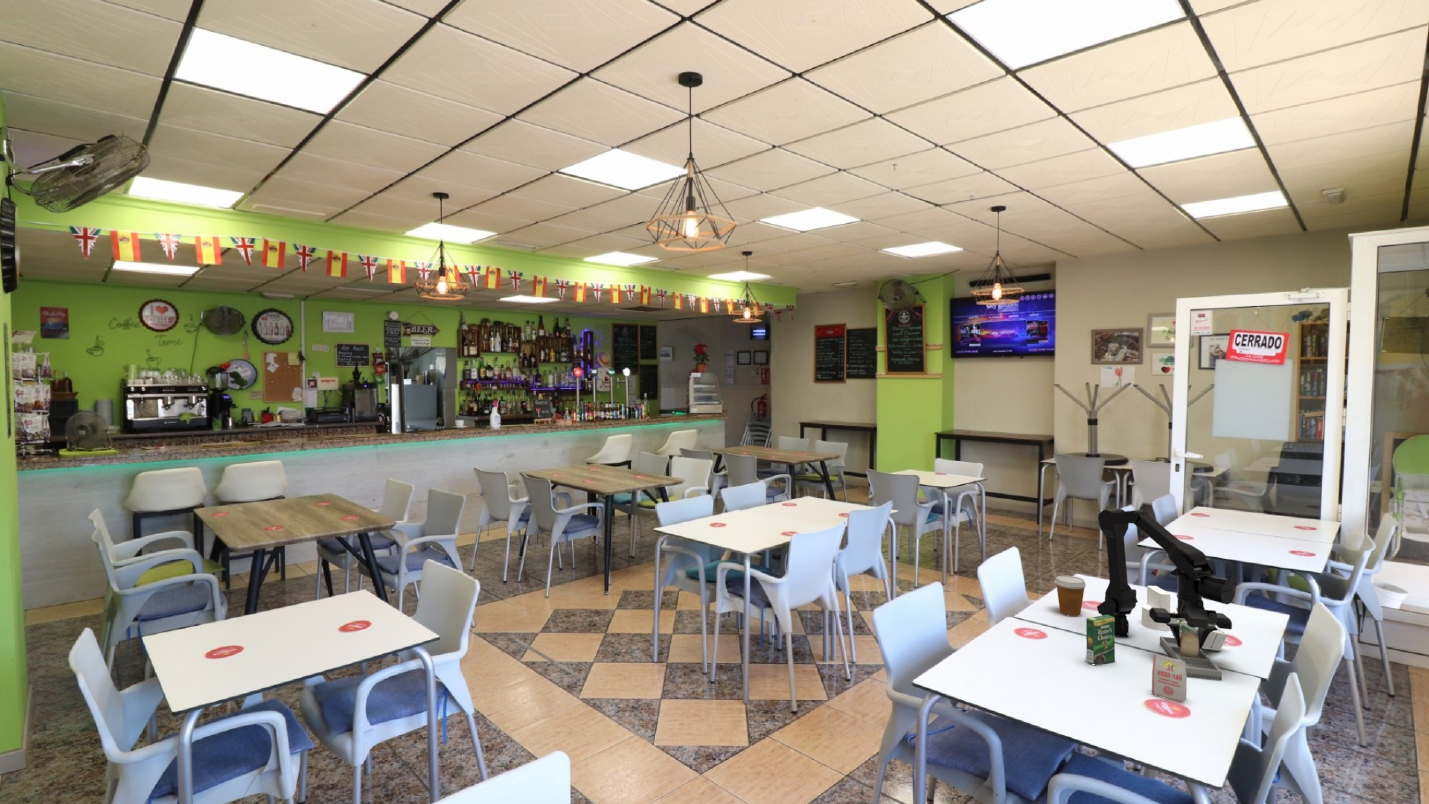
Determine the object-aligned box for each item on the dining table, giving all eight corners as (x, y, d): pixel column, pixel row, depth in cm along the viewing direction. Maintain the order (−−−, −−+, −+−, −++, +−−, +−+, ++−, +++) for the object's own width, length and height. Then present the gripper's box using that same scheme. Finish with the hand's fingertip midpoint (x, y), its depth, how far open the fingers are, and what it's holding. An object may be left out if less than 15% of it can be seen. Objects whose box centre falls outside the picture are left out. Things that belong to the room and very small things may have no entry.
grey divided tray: (1186, 676, 184) (1186, 667, 184) (1159, 644, 206) (1159, 636, 206) (1221, 680, 181) (1221, 671, 181) (1191, 647, 203) (1191, 639, 203)
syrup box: (1228, 634, 200) (1198, 628, 194) (1220, 652, 200) (1189, 646, 195) (1209, 623, 205) (1179, 617, 199) (1201, 641, 206) (1171, 635, 200)
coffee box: (1093, 666, 191) (1093, 620, 190) (1085, 662, 194) (1085, 617, 193) (1115, 662, 193) (1116, 617, 193) (1107, 658, 196) (1107, 614, 196)
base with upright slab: (1136, 620, 226) (1137, 585, 226) (1165, 621, 225) (1166, 586, 224) (1150, 630, 217) (1150, 593, 217) (1180, 632, 216) (1181, 594, 215)
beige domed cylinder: (1182, 657, 192) (1182, 634, 191) (1177, 650, 196) (1178, 628, 196) (1200, 659, 190) (1201, 636, 190) (1195, 652, 194) (1196, 630, 194)
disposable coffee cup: (1060, 617, 230) (1060, 582, 229) (1050, 608, 239) (1051, 574, 239) (1090, 618, 228) (1090, 583, 228) (1079, 609, 237) (1080, 575, 237)
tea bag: (1155, 689, 176) (1155, 652, 176) (1186, 698, 172) (1186, 659, 171) (1151, 694, 174) (1152, 656, 173) (1183, 703, 169) (1183, 663, 169)
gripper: (1160, 599, 188) (1160, 654, 188) (1240, 605, 182) (1239, 662, 183) (1148, 587, 199) (1148, 640, 199) (1224, 593, 193) (1223, 647, 193)
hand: (1189, 647), depth 193 cm, fingers open, 5 cm apart
